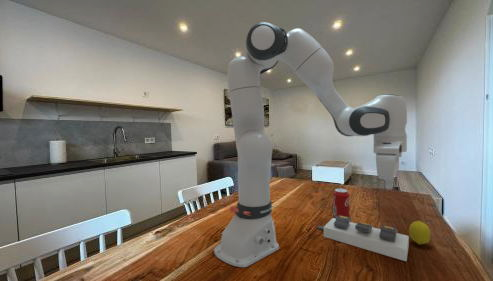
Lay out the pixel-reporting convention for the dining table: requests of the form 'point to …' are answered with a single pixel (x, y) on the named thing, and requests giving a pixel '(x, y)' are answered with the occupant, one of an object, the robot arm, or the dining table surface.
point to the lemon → (419, 232)
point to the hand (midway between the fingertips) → (389, 188)
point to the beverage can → (341, 203)
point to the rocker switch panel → (368, 240)
